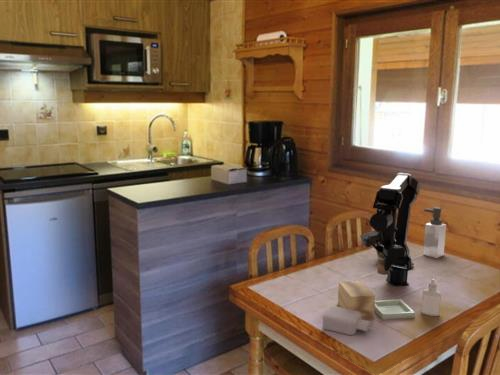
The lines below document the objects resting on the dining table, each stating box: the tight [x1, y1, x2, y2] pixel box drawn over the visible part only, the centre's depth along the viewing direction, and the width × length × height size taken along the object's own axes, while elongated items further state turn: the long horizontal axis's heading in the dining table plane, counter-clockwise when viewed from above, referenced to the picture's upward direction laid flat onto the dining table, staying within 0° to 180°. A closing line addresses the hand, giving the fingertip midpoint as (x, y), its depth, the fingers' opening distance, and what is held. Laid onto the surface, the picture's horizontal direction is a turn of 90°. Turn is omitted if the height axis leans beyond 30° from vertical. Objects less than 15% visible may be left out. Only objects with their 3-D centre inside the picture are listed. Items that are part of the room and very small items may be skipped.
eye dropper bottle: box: [420, 278, 442, 317], centre depth 151 cm, size 4×6×12 cm
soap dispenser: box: [422, 206, 447, 259], centre depth 208 cm, size 6×9×22 cm
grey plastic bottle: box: [322, 305, 377, 336], centre depth 142 cm, size 5×9×15 cm
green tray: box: [374, 298, 416, 321], centre depth 153 cm, size 11×10×2 cm
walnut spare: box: [377, 251, 390, 276], centre depth 158 cm, size 4×4×7 cm
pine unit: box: [337, 280, 376, 320], centre depth 153 cm, size 8×12×8 cm, turn 8°
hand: (383, 268), depth 158 cm, fingers closed on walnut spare, 4 cm apart
